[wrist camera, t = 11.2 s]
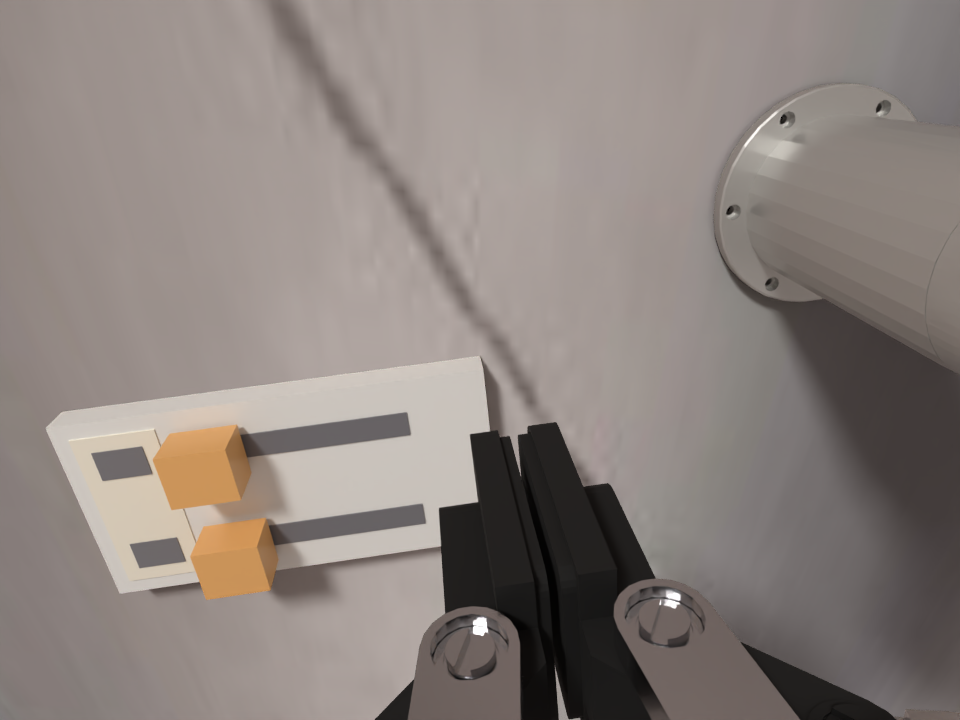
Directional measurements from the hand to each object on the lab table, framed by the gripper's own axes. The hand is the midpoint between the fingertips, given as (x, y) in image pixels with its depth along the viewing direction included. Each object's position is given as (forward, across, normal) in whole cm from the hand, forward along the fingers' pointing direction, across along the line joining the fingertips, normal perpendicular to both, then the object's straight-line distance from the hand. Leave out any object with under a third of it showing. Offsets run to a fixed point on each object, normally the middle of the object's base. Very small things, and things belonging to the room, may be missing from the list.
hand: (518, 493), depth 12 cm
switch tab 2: (+25, +16, +20) cm, 35 cm away
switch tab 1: (+25, +16, +13) cm, 32 cm away
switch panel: (+27, +12, +16) cm, 34 cm away
